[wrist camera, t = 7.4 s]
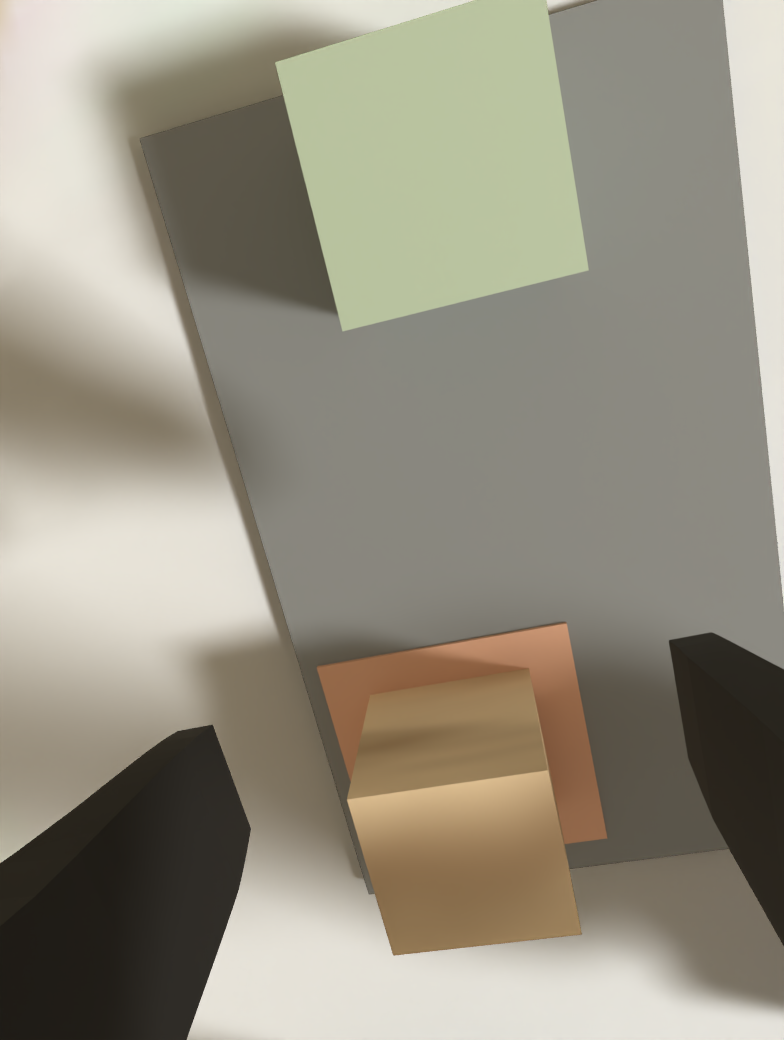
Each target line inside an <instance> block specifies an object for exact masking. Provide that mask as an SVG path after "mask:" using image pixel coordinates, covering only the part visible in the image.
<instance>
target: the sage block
mask: <svg viewBox="0 0 784 1040" xmlns="http://www.w3.org/2000/svg"><path fill="white" fill-rule="evenodd" d="M275 64H276V68H277V72H278V76H279V80H280V84H281V88H282V92H283V96H284V100H285V104H286V108H287V112H288V116H289V120H290V124H291V128H292V132H293V136H294V140H295V144H296V148H297V152H298V156H299V160H300V164H301V168H302V172H303V176H304V180H305V184H306V188H307V192H308V196H309V200H310V204H311V208H312V212H313V216H314V220H315V224H316V228H317V232H318V236H319V240H320V244H321V248H322V252H323V256H324V260H325V264H326V268H327V272H328V276H329V280H330V284H331V288H332V292H333V295H334V299H335V303H336V307H337V311H338V315H339V319H340V323H341V327H342V331H346V330H350V329H354V328H358V327H362V326H367V325H371V324H375V323H379V322H383V321H387V320H391V319H395V318H399V317H403V316H407V315H411V314H415V313H419V312H423V311H427V310H431V309H435V308H439V307H443V306H447V305H451V304H455V303H459V302H463V301H467V300H471V299H475V298H479V297H483V296H487V295H491V294H495V293H499V292H504V291H508V290H512V289H516V288H520V287H524V286H528V285H532V284H536V283H540V282H544V281H548V280H552V279H556V278H560V277H564V276H568V275H572V274H576V273H580V272H584V271H588V270H589V268H588V262H587V256H586V249H585V243H584V237H583V230H582V224H581V217H580V211H579V205H578V198H577V192H576V186H575V179H574V173H573V167H572V160H571V154H570V148H569V141H568V135H567V129H566V122H565V116H564V110H563V103H562V97H561V91H560V84H559V78H558V72H557V65H556V59H555V53H554V46H553V40H552V34H551V27H550V21H549V15H548V8H547V2H546V0H475V1H471V2H468V3H465V4H462V5H458V6H455V7H452V8H449V9H446V10H442V11H439V12H436V13H433V14H429V15H426V16H423V17H420V18H417V19H413V20H410V21H407V22H404V23H400V24H397V25H394V26H391V27H387V28H384V29H381V30H378V31H375V32H371V33H368V34H365V35H362V36H358V37H355V38H352V39H349V40H346V41H342V42H339V43H336V44H333V45H329V46H326V47H323V48H320V49H317V50H313V51H310V52H307V53H304V54H300V55H297V56H294V57H291V58H288V59H284V60H281V61H278V62H275Z"/></svg>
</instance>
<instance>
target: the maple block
mask: <svg viewBox="0 0 784 1040" xmlns="http://www.w3.org/2000/svg"><path fill="white" fill-rule="evenodd" d="M347 802H348V805H349V808H350V812H351V815H352V818H353V822H354V825H355V829H356V832H357V835H358V839H359V842H360V845H361V849H362V852H363V855H364V859H365V862H366V865H367V869H368V872H369V876H370V879H371V882H372V886H373V889H374V892H375V896H376V899H377V902H378V906H379V909H380V912H381V916H382V919H383V923H384V926H385V929H386V933H387V936H388V939H389V943H390V946H391V949H392V953H393V955H402V954H411V953H420V952H429V951H438V950H447V949H456V948H465V947H474V946H483V945H492V944H501V943H510V942H519V941H527V940H536V939H545V938H554V937H563V936H572V935H581V934H582V933H581V927H580V922H579V917H578V912H577V907H576V901H575V896H574V891H573V886H572V881H571V875H570V870H569V865H568V860H567V855H566V849H565V844H564V839H563V834H562V828H561V823H560V818H559V813H558V808H557V803H556V798H555V793H554V788H553V783H552V778H551V773H550V769H549V764H548V759H547V754H546V749H545V744H544V739H543V735H542V730H541V725H540V720H539V715H538V710H537V706H536V701H535V696H534V691H533V686H532V681H531V676H530V672H529V668H528V669H522V670H516V671H510V672H504V673H498V674H492V675H486V676H480V677H474V678H468V679H462V680H456V681H450V682H444V683H438V684H432V685H426V686H420V687H414V688H408V689H403V690H397V691H391V692H385V693H379V694H373V695H370V698H369V702H368V707H367V711H366V716H365V720H364V725H363V729H362V734H361V738H360V743H359V747H358V752H357V756H356V761H355V765H354V770H353V774H352V779H351V783H350V788H349V792H348V797H347Z"/></svg>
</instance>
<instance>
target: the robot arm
mask: <svg viewBox="0 0 784 1040" xmlns="http://www.w3.org/2000/svg"><path fill="white" fill-rule="evenodd" d="M669 646H670V652H671V658H672V664H673V670H674V676H675V682H676V688H677V694H678V700H679V706H680V712H681V718H682V724H683V730H684V736H685V742H686V748H687V754H688V759H689V762H690V764H691V767H692V769H693V772H694V774H695V777H696V779H697V782H698V784H699V787H700V789H701V792H702V794H703V797H704V799H705V801H706V804H707V806H708V809H709V811H710V813H711V816H712V818H713V820H714V822H715V824H716V826H717V828H718V829H719V831H720V833H721V835H722V837H723V838H724V840H725V842H726V844H727V846H728V847H729V849H730V851H731V853H732V855H733V856H734V858H735V860H736V862H737V864H738V865H739V867H740V869H741V871H742V873H743V874H744V876H745V878H746V880H747V881H748V883H749V885H750V887H751V889H752V890H753V892H754V894H755V896H756V897H757V899H758V901H759V903H760V905H761V906H762V908H763V910H764V912H765V913H766V915H767V917H768V919H769V921H770V922H771V924H772V926H773V928H774V929H775V931H776V933H777V935H778V937H779V938H780V940H781V942H782V944H783V945H784V669H782V668H780V667H778V666H776V665H775V664H773V663H771V662H769V661H767V660H765V659H763V658H761V657H759V656H757V655H755V654H754V653H752V652H750V651H748V650H746V649H744V648H742V647H740V646H738V645H737V644H735V643H733V642H731V641H729V640H727V639H725V638H723V637H721V636H719V635H717V634H715V633H712V632H710V633H704V634H699V635H693V636H688V637H683V638H677V639H672V640H669ZM250 831H251V828H250V825H249V823H248V820H247V817H246V814H245V812H244V809H243V806H242V804H241V801H240V798H239V795H238V793H237V790H236V787H235V785H234V782H233V779H232V776H231V774H230V771H229V768H228V765H227V763H226V760H225V757H224V755H223V752H222V749H221V746H220V744H219V741H218V738H217V736H216V733H215V730H214V727H213V725H208V726H203V727H198V728H192V729H187V730H182V731H177V732H176V733H174V734H172V735H171V736H169V737H167V738H166V739H164V740H163V741H161V742H160V743H159V744H157V745H156V746H154V747H153V748H152V749H150V750H149V751H148V752H146V753H145V754H144V755H142V756H141V757H140V758H138V759H137V760H136V761H134V762H133V763H132V764H131V765H129V766H128V767H127V768H126V769H124V770H123V771H122V772H120V773H119V774H118V775H117V776H115V777H114V778H113V779H112V780H110V781H109V782H108V783H106V784H105V785H104V786H103V787H101V788H100V789H99V790H98V791H96V792H95V793H94V794H93V795H91V796H90V797H89V798H87V799H86V800H85V801H84V802H82V803H81V804H80V805H79V806H77V807H76V808H75V809H73V810H72V811H71V812H69V813H68V814H67V815H65V816H64V817H63V818H61V819H60V820H59V821H57V822H56V823H55V824H53V825H52V826H51V827H49V828H48V829H47V830H45V831H44V832H43V833H41V834H40V835H39V836H37V837H36V838H35V839H33V840H32V841H31V842H29V843H28V844H27V845H25V846H24V847H22V848H21V849H20V850H18V851H17V852H16V853H14V854H13V855H12V856H10V857H9V858H7V859H6V860H4V861H3V862H2V863H0V1040H187V1037H188V1034H189V1031H190V1028H191V1025H192V1022H193V1019H194V1017H195V1014H196V1011H197V1008H198V1005H199V1002H200V1000H201V997H202V994H203V991H204V988H205V986H206V983H207V980H208V977H209V974H210V971H211V969H212V966H213V963H214V960H215V957H216V955H217V952H218V949H219V946H220V943H221V940H222V938H223V935H224V932H225V929H226V926H227V923H228V920H229V917H230V914H231V911H232V908H233V905H234V902H235V899H236V896H237V893H238V890H239V886H240V881H241V877H242V872H243V868H244V863H245V858H246V853H247V847H248V842H249V836H250Z"/></svg>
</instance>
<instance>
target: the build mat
mask: <svg viewBox="0 0 784 1040" xmlns="http://www.w3.org/2000/svg"><path fill="white" fill-rule="evenodd" d="M549 21H550V27H551V34H552V40H553V46H554V53H555V59H556V65H557V72H558V78H559V84H560V91H561V97H562V103H563V110H564V116H565V122H566V129H567V135H568V141H569V148H570V154H571V160H572V167H573V173H574V179H575V186H576V192H577V198H578V205H579V211H580V217H581V224H582V230H583V237H584V243H585V249H586V256H587V262H588V268H589V270H588V271H584V272H580V273H576V274H572V275H568V276H564V277H560V278H556V279H552V280H548V281H544V282H540V283H536V284H532V285H528V286H524V287H520V288H516V289H512V290H508V291H504V292H499V293H495V294H491V295H487V296H483V297H479V298H475V299H471V300H467V301H463V302H459V303H455V304H451V305H447V306H443V307H439V308H435V309H431V310H427V311H423V312H419V313H415V314H411V315H407V316H403V317H399V318H395V319H391V320H387V321H383V322H379V323H375V324H371V325H367V326H362V327H358V328H354V329H350V330H346V331H342V327H341V323H340V319H339V315H338V311H337V307H336V303H335V299H334V295H333V292H332V288H331V284H330V280H329V276H328V272H327V268H326V264H325V260H324V256H323V252H322V248H321V244H320V240H319V236H318V232H317V228H316V224H315V220H314V216H313V212H312V208H311V204H310V200H309V196H308V192H307V188H306V184H305V180H304V176H303V172H302V168H301V164H300V160H299V156H298V152H297V148H296V144H295V140H294V136H293V132H292V128H291V124H290V120H289V116H288V112H287V108H286V104H285V100H284V96H283V95H282V96H279V97H276V98H272V99H269V100H266V101H263V102H259V103H256V104H253V105H249V106H246V107H243V108H239V109H236V110H233V111H229V112H226V113H223V114H220V115H216V116H213V117H210V118H206V119H203V120H200V121H196V122H193V123H190V124H187V125H183V126H180V127H177V128H173V129H170V130H167V131H163V132H160V133H157V134H153V135H150V136H147V137H144V138H140V142H141V145H142V148H143V151H144V155H145V158H146V161H147V165H148V168H149V171H150V174H151V178H152V181H153V184H154V188H155V191H156V194H157V198H158V201H159V204H160V207H161V211H162V214H163V217H164V221H165V224H166V227H167V231H168V234H169V237H170V240H171V244H172V247H173V250H174V254H175V257H176V260H177V263H178V267H179V270H180V273H181V277H182V280H183V283H184V287H185V290H186V293H187V296H188V300H189V303H190V306H191V310H192V313H193V316H194V320H195V323H196V326H197V329H198V333H199V336H200V339H201V343H202V346H203V349H204V352H205V356H206V359H207V362H208V366H209V369H210V372H211V376H212V379H213V382H214V385H215V389H216V392H217V395H218V399H219V402H220V405H221V409H222V412H223V415H224V418H225V422H226V425H227V428H228V432H229V435H230V438H231V441H232V445H233V448H234V451H235V455H236V458H237V461H238V465H239V468H240V471H241V474H242V478H243V481H244V484H245V488H246V491H247V494H248V498H249V501H250V504H251V507H252V511H253V514H254V517H255V521H256V524H257V527H258V530H259V534H260V537H261V540H262V544H263V547H264V550H265V554H266V557H267V560H268V563H269V567H270V570H271V573H272V577H273V580H274V583H275V587H276V590H277V593H278V596H279V600H280V603H281V606H282V610H283V613H284V616H285V619H286V623H287V626H288V629H289V633H290V636H291V639H292V643H293V646H294V649H295V652H296V656H297V659H298V662H299V666H300V669H301V672H302V676H303V679H304V682H305V685H306V689H307V692H308V695H309V699H310V702H311V705H312V708H313V712H314V715H315V718H316V722H317V725H318V728H319V732H320V735H321V738H322V741H323V745H324V748H325V751H326V755H327V758H328V761H329V765H330V768H331V771H332V774H333V778H334V781H335V784H336V788H337V791H338V794H339V797H340V801H341V804H342V807H343V811H344V814H345V817H346V821H347V824H348V827H349V830H350V834H351V837H352V840H353V844H354V847H355V850H356V854H357V857H358V860H359V863H360V867H361V870H362V873H363V877H364V880H365V883H366V887H367V890H368V893H369V894H375V892H374V889H373V886H372V882H371V879H370V876H369V872H368V869H367V865H366V862H365V859H364V855H363V852H362V849H361V845H360V842H359V839H358V835H357V832H356V829H355V825H354V822H353V818H352V815H351V812H350V808H349V805H348V802H347V797H348V792H349V788H350V783H351V779H352V774H353V770H354V765H355V761H356V756H357V752H358V747H359V743H360V738H361V734H362V729H363V725H364V720H365V716H366V711H367V707H368V702H369V698H370V695H373V694H379V693H385V692H391V691H397V690H403V689H408V688H414V687H420V686H426V685H432V684H438V683H444V682H450V681H456V680H462V679H468V678H474V677H480V676H486V675H492V674H498V673H504V672H510V671H516V670H522V669H528V668H529V672H530V676H531V681H532V686H533V691H534V696H535V701H536V706H537V710H538V715H539V720H540V725H541V730H542V735H543V739H544V744H545V749H546V754H547V759H548V764H549V769H550V773H551V778H552V783H553V788H554V793H555V798H556V803H557V808H558V813H559V818H560V823H561V828H562V834H563V839H564V844H565V849H566V855H567V860H568V865H569V869H573V868H581V867H589V866H597V865H604V864H612V863H620V862H628V861H636V860H644V859H652V858H660V857H667V856H675V855H683V854H691V853H699V852H707V851H715V850H722V849H729V847H728V846H727V844H726V842H725V840H724V838H723V837H722V835H721V833H720V831H719V829H718V828H717V826H716V824H715V822H714V820H713V818H712V816H711V813H710V811H709V809H708V806H707V804H706V801H705V799H704V797H703V794H702V792H701V789H700V787H699V784H698V782H697V779H696V777H695V774H694V772H693V769H692V767H691V764H690V762H689V759H688V754H687V748H686V742H685V736H684V730H683V724H682V718H681V712H680V706H679V700H678V694H677V688H676V682H675V676H674V670H673V664H672V658H671V652H670V646H669V640H672V639H677V638H683V637H688V636H693V635H699V634H704V633H710V632H712V633H715V634H717V635H719V636H721V637H723V638H725V639H727V640H729V641H731V642H733V643H735V644H737V645H738V646H740V647H742V648H744V649H746V650H748V651H750V652H752V653H754V654H755V655H757V656H759V657H761V658H763V659H765V660H767V661H769V662H771V663H773V664H775V665H776V666H778V667H780V668H782V669H784V606H783V596H782V586H781V576H780V566H779V556H778V546H777V536H776V526H775V516H774V506H773V496H772V486H771V476H770V466H769V456H768V446H767V436H766V426H765V417H764V407H763V397H762V387H761V377H760V367H759V357H758V347H757V337H756V327H755V317H754V307H753V297H752V287H751V277H750V267H749V257H748V247H747V237H746V227H745V217H744V207H743V197H742V187H741V177H740V167H739V158H738V148H737V138H736V128H735V118H734V108H733V98H732V88H731V78H730V68H729V58H728V48H727V38H726V28H725V18H724V8H723V0H596V1H593V2H590V3H587V4H583V5H580V6H577V7H573V8H570V9H567V10H563V11H560V12H557V13H553V14H550V15H549Z"/></svg>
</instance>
